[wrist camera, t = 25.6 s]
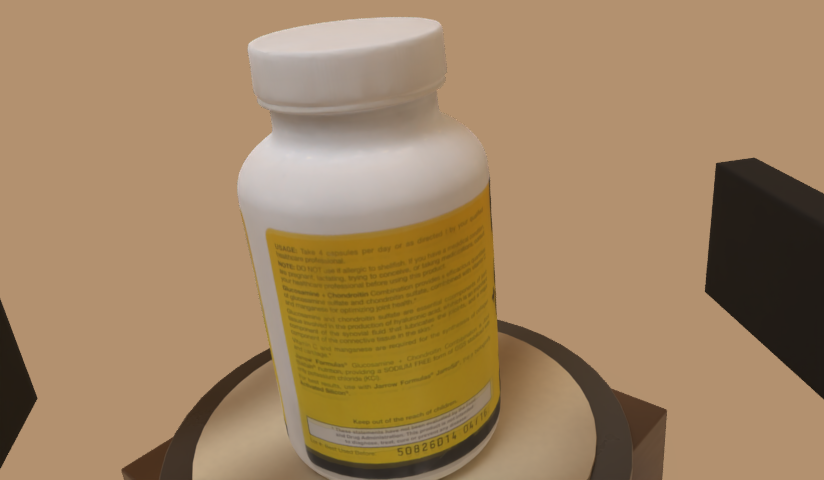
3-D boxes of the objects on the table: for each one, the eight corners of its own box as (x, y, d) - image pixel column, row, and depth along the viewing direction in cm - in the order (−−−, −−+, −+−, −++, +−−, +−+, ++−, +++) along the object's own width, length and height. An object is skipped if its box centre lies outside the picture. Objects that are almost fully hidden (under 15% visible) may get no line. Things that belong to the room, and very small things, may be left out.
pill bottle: (537, 467, 20) (528, 32, 15) (303, 530, 19) (210, 76, 14) (461, 345, 26) (436, 2, 21) (278, 387, 24) (206, 32, 20)
